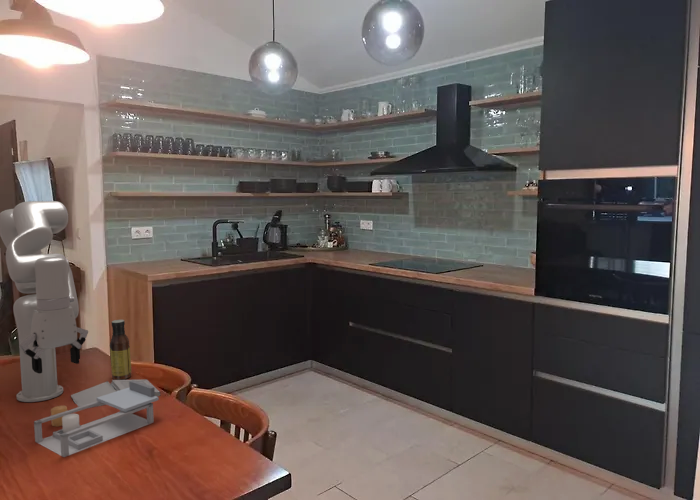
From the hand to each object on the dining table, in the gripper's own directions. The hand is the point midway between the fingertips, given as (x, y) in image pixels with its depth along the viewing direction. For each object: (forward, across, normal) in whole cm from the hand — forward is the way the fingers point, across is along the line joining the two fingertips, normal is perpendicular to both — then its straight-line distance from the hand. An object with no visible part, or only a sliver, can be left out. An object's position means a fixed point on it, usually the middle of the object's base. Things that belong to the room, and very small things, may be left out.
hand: (57, 367), depth 144 cm
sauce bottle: (+16, -32, -22) cm, 42 cm away
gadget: (+17, -21, -8) cm, 28 cm away
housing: (+16, -3, +13) cm, 21 cm away
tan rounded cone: (+16, 0, 0) cm, 16 cm away
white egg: (+15, +2, +10) cm, 18 cm away
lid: (+10, -12, +13) cm, 20 cm away
